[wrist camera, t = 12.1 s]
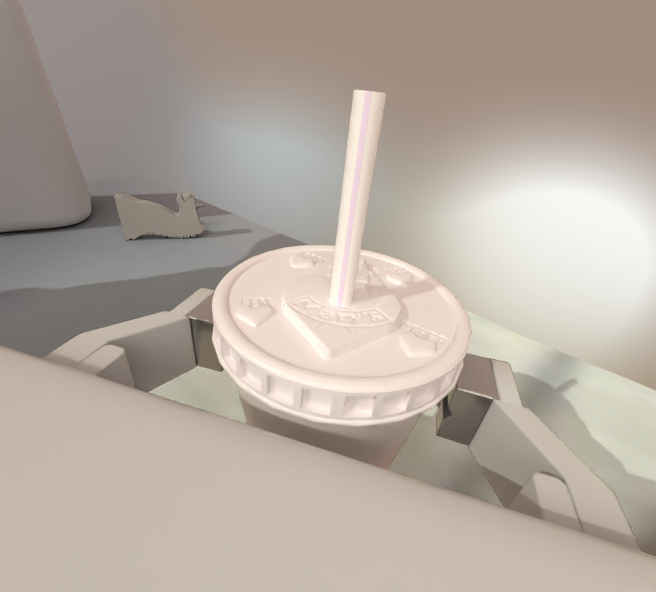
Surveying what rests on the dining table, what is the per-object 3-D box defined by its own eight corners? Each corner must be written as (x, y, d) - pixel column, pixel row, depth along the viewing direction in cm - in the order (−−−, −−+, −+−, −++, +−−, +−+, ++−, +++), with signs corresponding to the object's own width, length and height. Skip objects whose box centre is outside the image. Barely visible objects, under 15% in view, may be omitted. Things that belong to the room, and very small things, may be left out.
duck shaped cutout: (127, 236, 43) (208, 233, 46) (125, 241, 42) (208, 237, 45) (116, 192, 40) (203, 192, 43) (113, 195, 39) (203, 195, 42)
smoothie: (199, 571, 11) (65, 53, 4) (264, 415, 16) (263, 80, 9) (392, 624, 10) (699, 125, 3) (393, 444, 16) (505, 108, 8)
